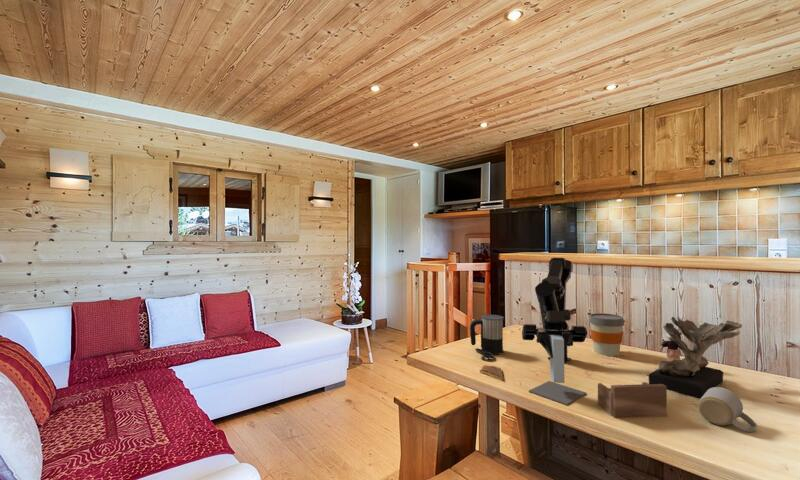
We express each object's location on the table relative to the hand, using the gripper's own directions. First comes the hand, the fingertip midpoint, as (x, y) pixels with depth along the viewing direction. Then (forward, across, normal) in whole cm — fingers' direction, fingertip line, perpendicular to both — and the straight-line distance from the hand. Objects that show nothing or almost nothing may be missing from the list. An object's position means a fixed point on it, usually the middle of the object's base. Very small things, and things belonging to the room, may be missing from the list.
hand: (557, 357), depth 110 cm
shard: (-2, -18, +19) cm, 26 cm away
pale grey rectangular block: (+4, 0, +6) cm, 7 cm away
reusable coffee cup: (-25, +29, +41) cm, 56 cm away
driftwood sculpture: (-3, +46, +19) cm, 49 cm away
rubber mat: (+7, 0, +9) cm, 11 cm away
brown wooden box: (+13, +17, +3) cm, 22 cm away
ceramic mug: (+15, +38, +1) cm, 41 cm away
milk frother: (-17, -19, +34) cm, 42 cm away
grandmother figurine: (-16, +47, +32) cm, 59 cm away
